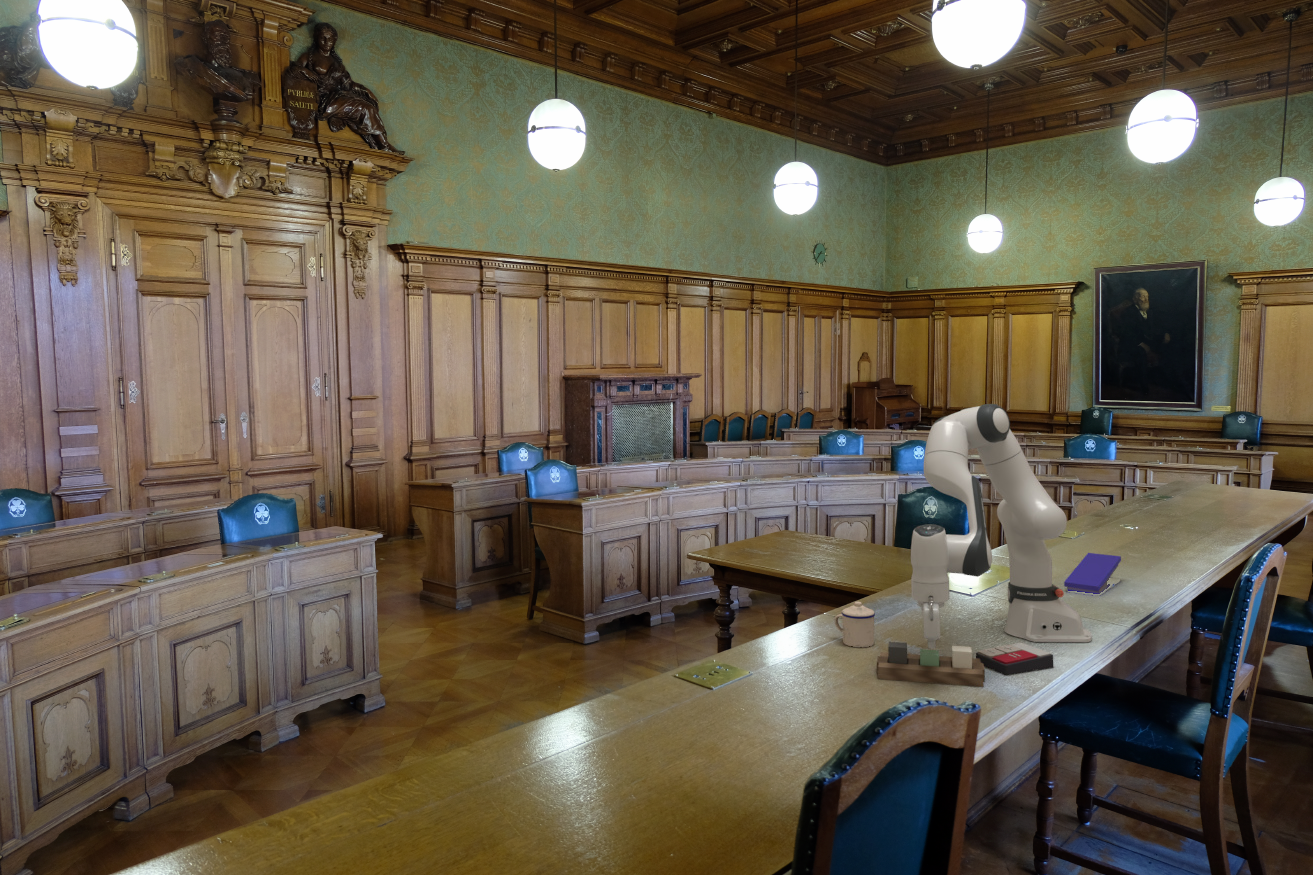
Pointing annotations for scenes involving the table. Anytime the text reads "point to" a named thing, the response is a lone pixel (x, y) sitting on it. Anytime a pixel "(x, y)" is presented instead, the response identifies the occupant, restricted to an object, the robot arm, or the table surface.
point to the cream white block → (961, 657)
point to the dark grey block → (897, 652)
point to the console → (931, 671)
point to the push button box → (1015, 659)
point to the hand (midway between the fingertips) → (931, 646)
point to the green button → (929, 657)
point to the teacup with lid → (857, 625)
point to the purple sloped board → (1092, 573)
